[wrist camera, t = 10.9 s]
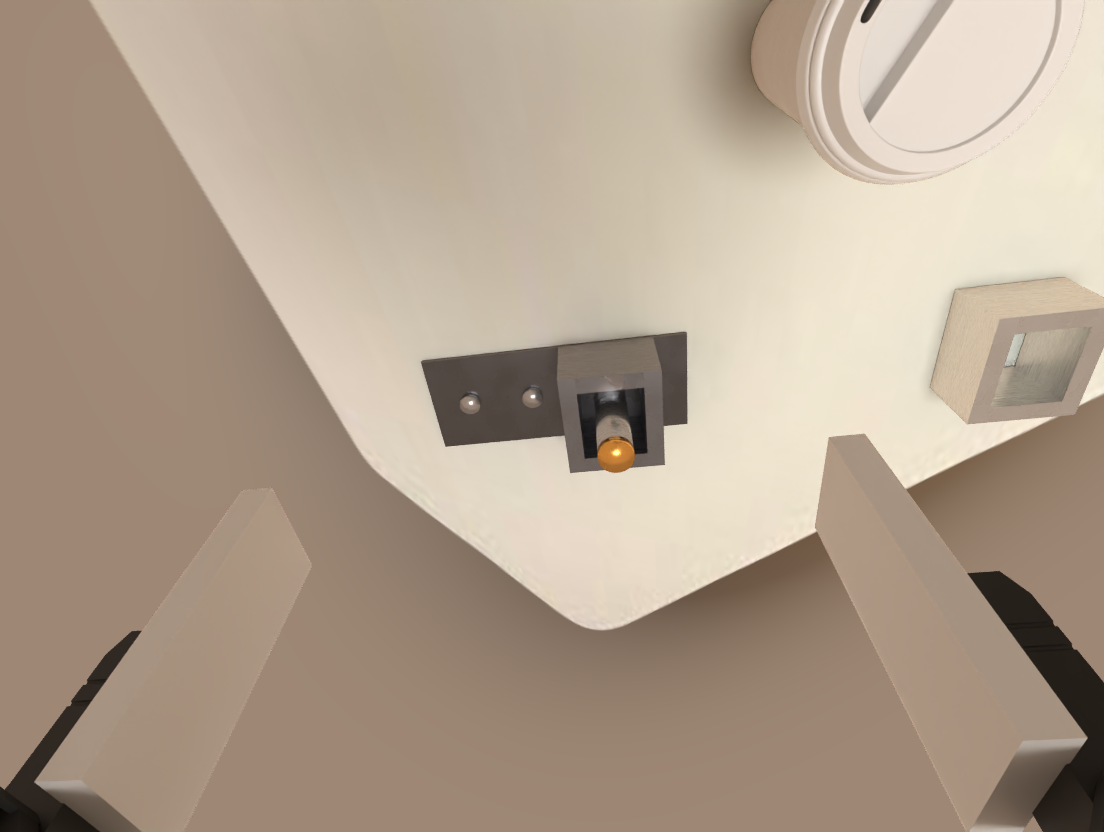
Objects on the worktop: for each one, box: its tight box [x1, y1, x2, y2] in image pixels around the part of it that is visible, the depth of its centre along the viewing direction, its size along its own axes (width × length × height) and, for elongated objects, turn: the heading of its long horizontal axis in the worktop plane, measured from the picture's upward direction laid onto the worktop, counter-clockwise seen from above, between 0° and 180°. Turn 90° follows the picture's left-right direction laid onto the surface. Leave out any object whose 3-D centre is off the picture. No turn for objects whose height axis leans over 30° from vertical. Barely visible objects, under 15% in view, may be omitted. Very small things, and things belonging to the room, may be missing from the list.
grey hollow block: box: [557, 337, 665, 473], centre depth 43 cm, size 8×7×5 cm
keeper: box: [421, 332, 687, 473], centre depth 42 cm, size 8×20×9 cm, turn 98°
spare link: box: [930, 277, 1104, 424], centre depth 40 cm, size 8×7×5 cm
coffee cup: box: [751, 0, 1085, 184], centre depth 26 cm, size 10×10×15 cm
